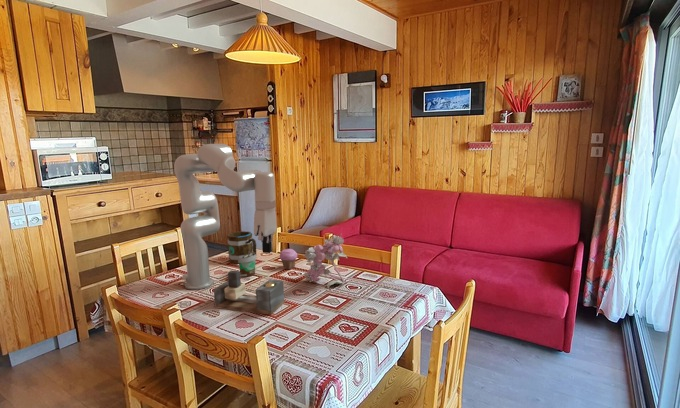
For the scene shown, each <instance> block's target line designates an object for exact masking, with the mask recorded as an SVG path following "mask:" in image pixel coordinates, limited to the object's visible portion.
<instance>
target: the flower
mask: <svg viewBox="0 0 680 408" xmlns="http://www.w3.org/2000/svg"><path fill="white" fill-rule="evenodd" d="M342 234H343V233H340V236H339V235H335V234H334V235H332V236H331V237H330V238H328V239H326V238H325V239H324V244H323V245H321V244H317V245H314V247H313V246H311V247H309V248H308V249H305V252H304V253H305V254H302V256H303V257H305V261H306V262H307V263H311V264H310V265H309V266H310V268H309V269H308V272H305V273H304V274H303V276H304V277H305V278H304V280H305V281H308V282H309V283H311V282H312V281H313V282H319V281H320V280H321V277H319V276H320V275H321V276H322V275H324V276H325V277H326V276H329V277H332V278H334V279H337V280H335V281H334V280H333V281H329V282H327V285H326V286H327V289H328V290H329V289H330V286H332V285H335V284H348V281H346V280H344V277H343V276H342V274H341V273H340V271H339V268H338V267H337V265H336V263H335V262H334V261H335V260H338V261H340V258H339V257H342V258H346V259H348V257H347V255H346V253H344V250H343V249H344V248H343V247H342V245H343V244H344V242H345V239H344V237H342ZM324 260H327V261H330V262H331V264H332V265H333V267H334V269H335V271H336V273H337V274H338V276H337V275H335V274H332V271H330V269H328V268H327V266H328V264H323V261H324Z"/></svg>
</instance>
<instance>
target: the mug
mask: <svg viewBox="0 0 680 408" xmlns="http://www.w3.org/2000/svg"><path fill="white" fill-rule="evenodd" d="M226 239H227V251H228V263H231V265H237V264H239V263H238V258H242V257H243V256H245V255H247V254H248V253H249V252H254V253H255V254H256V255H257V241H256V240H255V239H254V238H253V233H252V232H251V231H245V230H244V231H243V230H241V231H234V232H230V233H227V234H226Z"/></svg>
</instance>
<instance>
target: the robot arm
mask: <svg viewBox="0 0 680 408" xmlns="http://www.w3.org/2000/svg"><path fill="white" fill-rule="evenodd" d="M235 168H236V160H235V158H234V153H233V150H232V148H231V146H229V145H228V144H225V143H207V144H203V145H201V146H200V147H199V148H198V150H197V153H188V154H187V153H186V154H182V155H180V156H178V157H177V158H175V161H174V165H173V169H174V174H175V177H176V180H177V183H178V188H179V197H180V205H181V210H182V211H183V214H185V215H196V214H202V213H203V214H202V215H196V216H193V217H189V218H186V219H184V220H182V222H181V223H180V232H181V237H182V240H183V244H184V252H185V263H186V273H183V275H182V277H181V280H184V281H185V282H184V287H185V289H187V290H192V291H193V290H202V289H206V288H209V287H211V286H213V284H214V281H215V280H214V279H213V278H212V277H211V274H210V263H209V251H208V245H207V243H206V242H205V240H204V239H203V237H207V236H210V235H214V234H216V233H218V232H219V230H220V228H221V223H220V222H221V221H220V212H219V203H218V199H217V196H216V194H214V192H212V191H210V190H204V191H201V187H200V182H199V179H198V178H197V177H196V175H194V174H204V173H205V174H206V173H213V172H216V173H217V177H218V179H219V182H220V183H221V184H222V185H223V186H224V187H226V188H227V189H229V190H230V191H232V192H235V193H241V192H248V191H249V192H251V191H254V215H253V216H254V217H253V235H254V236H255V237H257V240H258V241H261V244H262V245H261V247H262V250H261V251H262V253H264V254H265V253H266V254H270V253H272V251H273V245H272V244H273V236H274V235H275V233H276V231H277V230H278V227H277V226H278V223H277V211H276V184H275V183H276V181H275V178H276V177H275V174H274V172H270V171H261V170H257V169H256V170H252V169H251V170H243V171H235Z"/></svg>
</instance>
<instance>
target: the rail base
mask: <svg viewBox="0 0 680 408" xmlns="http://www.w3.org/2000/svg"><path fill="white" fill-rule="evenodd" d="M269 282H273V283H275V286H274V287H265V284H266V283H269ZM228 286H229V283H228V280H227V281H225V282H224V283H222V284H220V285H218V286H217V287H215V288H213V296H214V297H213V299H214V307H215V308H217V309H218V308H219V309H226V310H232V311H233V310H234V311H240V312H241V311H242V312H248V313H256V314H260V315H261V314H262V315H271V316H272V315H273V314H274V313H275V312H277V310H278V309H280V308H281V307H282V306H283V305H284V304H285V290H284V289H285V288H284V287H285V286H284V280H281V279H272V278H271V279H268V280H266V282H264V283H263V284H262V285H260V286H259V287H257V288H256V289H255V295H251V294H243V295H242V296H240V297H239V298H238V299H236V300H235V299H227V298H225V291H224V289H225V288H226V287H228Z"/></svg>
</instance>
